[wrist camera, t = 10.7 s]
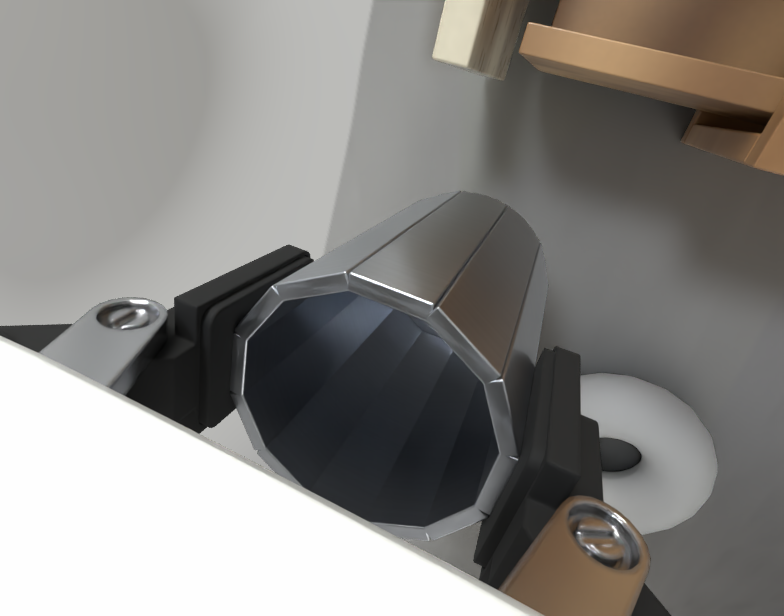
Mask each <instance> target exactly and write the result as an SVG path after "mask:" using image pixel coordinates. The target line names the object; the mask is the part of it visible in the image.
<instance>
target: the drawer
mask: <svg viewBox="0 0 784 616" xmlns="http://www.w3.org/2000/svg"><path fill="white" fill-rule="evenodd" d="M528 2H529V0H445V3H444V8H443V12H442V16H441V20H440V25H439V29H438V33H437V37H436V42H435V46H434V50H433V55H432V59H433V60H435V61H439V62H442V63H445V64H448V65H451V66H454V67H457V68H460V69H463V70H466V71H469V72H472V73H475V74H478V75H481V76H485V77H489V78H493V79H497V80H501V81H504V79H505V77H506V73H507V70H508V67H509V64H510V60H511V57H512V54H513V51H514V48H515V44H516V41H517V38H518V35H519V31H520V28H521V25H522V22H523V19H524V15H525V12H526V9H527V6H528ZM519 53H520V54H521V55H522V56H523V57H524V58H525V59H526V60H527V61H529V62H530V63H531V64H532V65H533V66H534V67H535V68H536V69H537V70H539V71H542V72H546V73H550V74H554V75H558V76H562V77H566V78H570V79H575V80H579V81H583V82H587V83H591V84H595V85H599V86H603V87H607V88H611V89H615V90H620V91H624V92H628V93H632V94H636V95H640V96H644V97H648V98H652V99H656V100H660V101H665V102H669V103H673V104H677V105H681V106H685V107H689V108H693V109H697V110H701V111H705V112H710V113H714V114H718V115H722V116H726V117H730V118H734V119H738V120H742V121H746V122H751V123H755V124H759V125H763V126H766V125H767V123H768V122H769V120H770V118H771V117H772V115H773V113H774V112H775V110H776V108H777V106H778V105H779V103H780V101H781V100H782V98H783V96H784V0H560V1H559V4H558V7H557V10H556V13H555V16H554V19H553V22H552V25H551V27H550V26H546V25H541V24H537V23H532V22H528V24H527V27H526V30H525V33H524V36H523V39H522V43H521V46H520V49H519Z"/></svg>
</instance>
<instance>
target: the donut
mask: <svg viewBox="0 0 784 616" xmlns="http://www.w3.org/2000/svg"><path fill="white" fill-rule="evenodd" d="M580 385H581V415H584V416H586V417H588V418H591V419H593V420H596V421H597V422H598V425H599V437H600V438H602V437H609V438H615V439H620V440H623V441H625V442H628V443H630V444H632V445H634V446H635V447H636V448H638V450H639V451H640V453H641V455H642V459H641V461H640V462H639V463H638V464H637V465H635V466H634V467H633V468H631V469H627V470H624V471H620V472H606V471H602V483H603V499H604V502H605V503H607V504H609V505H610V506H612V507H614V508H615V509H617V510H618V511H619V512H620V513H622V514H623V515H624V516H625V517H626V518H627V519H629V520H630V521H631V523H632V524H633V525H634V526H635V527H636V529H637V530H638V531H639V532H640V534H641V535H644V534H648V533H653V532H657V531H662V530H666V529H671V528H672V527H674V526H676V525H678V524H680V523H681V522H683V521H685V520H687V519H689V518H691V517H692V516H694V515H695V513H696V512H697V511H698V510H699V509H700V508H701V506H702V505H703V504H704V503H705V502H706V500H707V499H708V498H709V497H710V495H711V493H712V490H713V487H714V483H715V479H716V475H717V471H718V463H717V458H716V453H715V449H714V444H713V440H712V436H711V435H710V433H709V432H708V430H707V429H706V428H705V426H704V425H703V423H702V422H701V421H700V419H699V418H698V416H697V415H696V414H695V412H694V411H693V409H692V408H691V407H690V406H689V405H687V404H686V403H684V402H683V401H682V400H680V399H679V398H678V397H676V396H675V395H673V394H672V393H671V392H669V391H668V390H667V389H665V388H662V387H660V386H657V385H654V384H652V383H649V382H646V381H644V380H641V379H638V378H636V377H633V376H627V375H618V374H609V373H595V374H588V375H580Z"/></svg>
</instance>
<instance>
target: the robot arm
mask: <svg viewBox="0 0 784 616" xmlns="http://www.w3.org/2000/svg"><path fill="white" fill-rule="evenodd" d="M312 262H314V260H313V259H311V258H310V254H309V252H307V251H305V250H302V249H299V248H297V247H294V246H291V245H286V246H284V247H282V248H280V249H277V250H275V251H273V252H271V253H269V254H267V255H265V256H263V257H261V258H258V259H256V260H254V261H252V262H250V263H248V264H245V265H243V266H241V267H239V268H237V269H235V270H233V271H230V272H228V273H226V274H224V275H222V276H220V277H218V278H216V279H213V280H211V281H209V282H207V283H205V284H203V285H201V286H198V287H196V288H194V289H192V290H190V291H188V292H185V293H184V294H181V295H179V296H177V297H175V298H174V307H173V308H171V309H169V310H166V309H165V307H164V306H163V305H161V304H160V303H158V302H156V301H153V300H149V299H146V298H136V297H127V298H118V299H112V300H108V301H105V302H103V303H100V304H98V305H97V306H95V307H93V308H92V309H91V310H89V311H88V312H87V313H86V314H85V315H84V316H82V317H81V318H80V319H79V320H77V321H76V322H75V323H74V324H61V325H60V324H59V325H24V326H23V325H22V326H0V616H671V615H670V614H669V612H668V611H667V610H666V609H665V608H664V606H663V605H662V604H661V603H660V601H659V600H658V599H657V598H656V597H655V595H654V594H653V593H652V592H651V591H650V589H649V588H648V587H647V586H646V585H645V583H644V582H645V579H646V577H647V574H648V572H649V568H650V560H651V558H650V554H649V550H648V547H647V544H646V543H645V541H644V539H643V537H642V535H641V534H640V532H639V531H638V530H637V529H636V527H635V526H634V525H633V524H632V523H631V521H630V520H629V519H627V518H626V517H625V516H624V515H623V514H622V513H620V512H619V511H618V510H617V509H615V508H614V507H612V506H610V505H609V504H607V503H605V502H604V499H603V483H602V468H601V452H600V437H599V425H598V422H597V421H596V420H593V419H591V418H588V417H586V416H584V415H581V385H580V355H579V354H576V353H573V352H571V351H568V350H565V349H563V348H560V347H557V346H556V347H555V348H554V349H553V351H551V350H548V349H546V348H545V349H544V350H543V352H542V354H541V356H540V358H539V360H538V362H537V364H536V367H535V369H534V375H533V381H532V387H531V393H530V399H529V405H528V411H527V417H526V423H525V429H524V435H523V441H522V447H521V453H520V456H519V460H518V462H517V464H516V466H515V468H514V470H513V472H512V474H511V476H510V478H509V480H508V482H507V484H506V485H505V487H504V489H503V491H502V493H501V495H500V497H499V499H498V501H497V503H496V505H495V507H494V509H493V511H492V513H491V515H489V517H488V518H487V519H484V520H482V524H481V529H480V533H479V537H478V541H477V546H476V550H475V554H474V560H473V561H474V562H475V563H477V564H479V565H481V566H482V568H481V573H480V578H479V580H478V579H476V578H474V577H473V576H471V575H469V574H467V573H465V572H463V571H462V570H460V569H458V568H456V567H454V566H452V565H450V564H449V563H447V562H445V561H443V560H441V559H439V558H437V557H435V556H433V555H431V554H430V553H428V552H426V551H424V550H422V549H420V548H418V547H416V546H414V545H412V544H410V543H408V542H407V541H405V540H403V539H401V538H399V537H397V536H395V535H393V534H391V533H389V532H387V531H386V530H384V529H382V528H380V527H378V526H376V525H374V524H372V523H370V522H368V521H366V520H365V519H363V518H361V517H359V516H357V515H355V514H353V513H351V512H349V511H347V510H345V509H343V508H342V507H340V506H338V505H336V504H334V503H332V502H330V501H328V500H326V499H324V498H322V497H321V496H319V495H317V494H315V493H313V492H311V491H309V490H307V489H305V488H303V487H301V486H299V485H297V484H295V483H293V482H292V481H290V480H288V479H286V478H284V477H282V476H280V475H278V474H276V473H274V472H272V471H270V470H268V469H266V468H264V467H263V466H261V465H259V464H257V463H255V462H253V461H251V460H249V459H247V458H245V457H243V456H241V455H239V454H237V453H235V452H233V451H231V450H230V449H228V448H226V447H224V446H222V445H220V444H218V443H216V442H214V441H212V440H210V439H208V438H206V437H204V436H202V435H200V433H201V432H202V431H203V430H204V429H205V428H207V427H209V428H212V427H215V426H216V425H217V424H218V423H220V422H221V421H222V420H223V419H224V418H225V417H226V416H228V415H229V414H230V413H231V412H232V411H233V410H234V409H236V406H235V404H234V402H233V399H232V397H231V395H230V393H231V392H232V391H230V377H231V361H232V345H233V333H234V332H235V328H236V327H237V325H238V324H239V323H240V322H241V321H242V320H243V318H244V317H245V316H246V315H247V314H248V313H249V311H250V310H251V309H252V308H253V307H254V306H255V305H256V303H257V302H258V301H259V300H260V299H261V298H262V296H263V295H264V294H265V293H266V292H267V291H268V289H269V288H270V287H271V286H272V285H274V284H276V283H278V282H279V281H281V280H283V279H284V278H286V277H288V276H290V275H291V274H293V273H295V272H297V271H298V270H300V269H302V268H303V267H305V266H307V265H309V264H310V263H312Z"/></svg>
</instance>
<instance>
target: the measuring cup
mask: <svg viewBox="0 0 784 616" xmlns="http://www.w3.org/2000/svg"><path fill="white" fill-rule="evenodd" d="M547 292H548V279H547V273H546V262H545V258H544V253H543V250H542V244H541V243H540V240H539V239H538V237H537V236H536V235H535V233H534V231H533V230H532V228H531V227H530V226H529V224H528V223H527V222H526V221H525V220H524V219H523V218H522V217H521V216H520V215H519V214H518V213H517V212H516V211H514V210H513V209H512V208H511V207H510V206H508V205H506V204H504V203H502V202H500V201H499V200H496V199H494V198H491V197H489V196H486V195H482V194H478V193H471V192H466V191H463V192H461V191H456V192H452V193H446V194H441V195H438V196H435V197H431V198H427V199H423V200H419V201H418V202H416V203H414V204H412V205H411V206H409V207H407V208H405V209H404V210H402V211H400V212H399V213H397V214H395V215H393V216H392V217H390V218H388V219H386V220H385V221H383V222H381V223H380V224H378V225H376V226H374V227H373V228H371V229H369V230H367V231H366V232H364V233H362V234H360V235H359V236H357V237H355V238H354V239H352V240H350V241H348V242H347V243H345V244H343V245H341V246H340V247H338V248H336V249H335V250H333V251H331V252H329V253H328V254H326V255H324V256H322V257H321V258H319V259H317V260H316V261H314V262H312V263H310V264H309V265H307V266H305V267H303V268H302V269H300V270H298V271H297V272H295V273H293V274H291V275H290V276H288V277H286V278H284V279H283V280H281V281H279V282H278V283H276V284H274V285H272V286H271V287H270V288H269V289H268V291H267V292H266V293H265V294H264V295H263V296H262V298H261V299H260V300H259V301H258V302H257V303H256V305H255V306H254V307H253V308H252V309H251V310H250V311H249V313H248V314H247V315H246V316H245V317H244V318H243V320H242V321H241V322H240V323H239V324H238V325H237V327H236V328H235V332H234V333H233V345H232V361H231V377H230V391H232V392H231V393H230V395H231V397H232V399H233V402H234V404H235V406H236V409H237V411H238V413H239V415H240V418H241V420H242V422H243V425H244V427H245V429H246V432H247V434H248V436H249V438H250V441H251V443H252V445H253V448H254V449H255V450H258V452H257V454H258V455H259V456H260V457H261V458H262V459H263V460H264V461H265V462H266V463H267V464H268V466H270V468H271V469H272V470H273V471H274V472H275V473H276V474H278V475H280V476H282V477H284V478H286V479H288V480H290V481H292V482H293V483H295V484H297V485H299V486H301V487H303V488H305V489H307V490H309V491H311V492H313V493H315V494H317V495H319V496H321V497H322V498H324V499H326V500H328V501H330V502H332V503H334V504H336V505H338V506H340V507H342V508H343V509H345V510H347V511H349V512H351V513H353V514H355V515H357V516H359V517H361V518H363V519H365V520H366V521H368V522H370V523H372V524H374V525H376V526H378V527H380V528H382V529H384V530H386V531H387V532H389V533H391V534H393V535H395V536H397V537H399V538H406V539H415V540H424V541H430V539H432V540H436V539H439V538H441V537H443V536H446V535H448V534H451V533H453V532H455V531H458V530H460V529H463V528H465V527H468V526H470V525H472V524H475V523H477V522H480V521H482V520H484V519H487V518H488V517H489V515H491V513H492V511H493V509H494V507H495V505H496V503H497V501H498V499H499V497H500V495H501V493H502V491H503V489H504V487H505V485H506V484H507V482H508V480H509V478H510V476H511V474H512V472H513V470H514V468H515V466H516V464H517V462H518V460H519V456H520V453H521V447H522V441H523V435H524V429H525V423H526V417H527V411H528V405H529V399H530V393H531V387H532V381H533V375H534V369H535V364H536V358H537V352H538V346H539V340H540V334H541V328H542V322H543V316H544V310H545V304H546V298H547Z"/></svg>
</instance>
